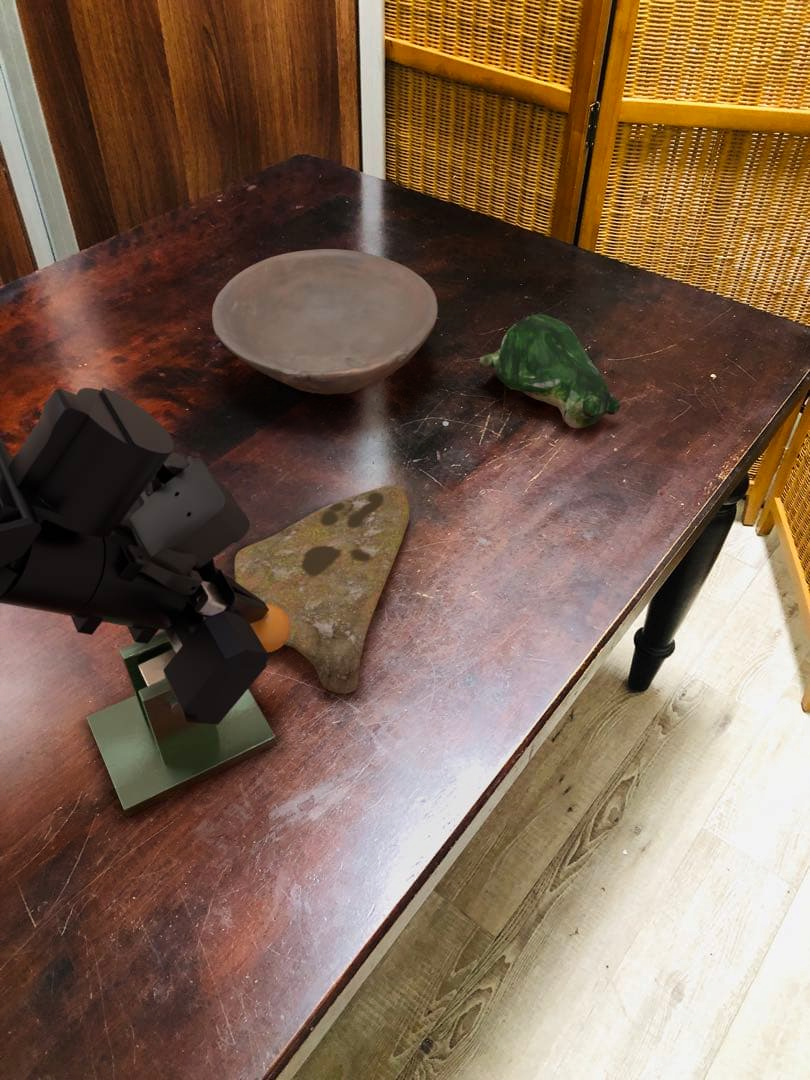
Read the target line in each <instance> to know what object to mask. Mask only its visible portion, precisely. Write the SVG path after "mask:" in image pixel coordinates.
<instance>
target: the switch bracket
mask: <svg viewBox="0 0 810 1080" xmlns="http://www.w3.org/2000/svg"><path fill="white" fill-rule="evenodd" d="M171 649H173V646H172V644H171V642H170V641H169V639H168V637H167V635H166V633H165V631H164V630H162V631H160V632H157V633H156V634H155V635H154V637H153V638H152V639H151V640H150V642H149V643H148V644H144V643H138V642H134V643H132V644H128V645H127V646H124V647H122V648H120V649H118V650H119V653H120V657H121V659H122V662H123V665H124V668H125V670H126V673H127V676H128V680H129V683H130V684H131V688H132V691H133V693H134V695H132V696H130V697H128V698H126V699H123V700H121V701H119V702H117V703H114V704H111V705H109V706H106V707H105V708H102V709H100V710H98V711H96V712H93V713H91V714H89V715H87V716H85V717H86V721H87V723H88V725H89V728H90V730H91V732H92V735H93V738H94V740H95V743H96V746H97V748H98V751H99V753H100V755H101V757H102V760H103V761H104V762H103V763H104V764H105V767H106V770H107V772H108V775H109V777H110V779H111V782H112V784H113V787H114V789H115V792H116V794H117V796H118V799H119V801H120V803H121V806H122V810H123V811H124V813H125V816H126V818H129V817H131V816H133V815H135V814H137V813H139V812H141V811H143V810H146V809H148V808H149V807H151V806H154V805H156V804H158V803H160V802H162V801H164V800H166V799H168V798H171V797H172V796H174V795H177V794H178V793H180V792H183V791H184V790H187V789H189V788H190V787H192V786H195V785H196V784H199V783H201V782H203V781H205V780H207V779H209V778H211V777H213V776H215V775H217V774H219V773H221V772H223V771H226V770H227V769H229V768H232V767H234V766H236V765H238V764H239V763H242V762H244V761H246V760H248V759H250V758H253V757H254V756H257V755H258V754H260V753H262V752H264V751H266V750H268V749H270V748H272V747H274V746H277V738H276V735H275V733H274V731H273V729H272V728H271V726H270V724H269V722H268V721H267V719H266V717H265V715H264V713H263V711H262V710H261V707H260V706H259V705H258V703H257V701H256V699H255V698H254V696H253V694H252V692H251V690H250V688H248V689H247V691H246V692H245V693H244V694H243V695H242V697H241V698H240V699H239V700H238V701H237V703H236V704H235V705H234V706H233V707H232V709H231V710H230V711H229V712H228V713H227V715H226V716H225V717H224V718H223V720H222V721H221V722H220V723H219V724H218V725H216V724H203V723H192V722H186V720H185V718H184V716H183V714H182V712H181V710H180V708H179V706H178V704H177V702H176V700H175V698H174V696H173V694H172V692H171V689H170V687H169V685H168V683H167V681H166V679H164V680H162V681H159V682H157V683H155V684H152V685H150V686H148V687H147V685H146V683H145V680H144V678H143V676H142V674H141V672H140V669H139V667H138V665H139V664H141V663H143V662H146V661H148V660H150V659H152V658H154V657H156V656H158V655H161V654H163V653H165V652H167V651H169V650H171Z"/></svg>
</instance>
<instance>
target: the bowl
mask: <svg viewBox="0 0 810 1080" xmlns="http://www.w3.org/2000/svg"><path fill="white" fill-rule="evenodd" d="M438 313H439V304H438V300H437V296H436V294H435V291H434V290H433V288H432V287H431V286H430V285H429V283H428V282H427V281H426V280H425V279H424V278H423V277H421V276H420V275H418V274H417V273H416V272H415V271H413V270H412V269H410V268H408V267H407V266H405V265H403V264H400V263H399V262H396V261H393V260H391V259H389V258H386V257H383V256H379V255H375V254H372V253H368V252H362V251H356V250H348V249H338V248H323V249H322V248H320V249H307V250H300V251H299V250H298V251H292V252H286V253H283V254H279V255H275V256H271V257H268V258H266V259H263V260H261V261H259V262H255V263H254V264H252V265H250V266H248V267H247V268H245V269H243V270H242V271H240V272H239V273H237V274H236V275H235V276H234V277H232V278H231V279H230V280H229V281H228V282H227V284H225V286H224V287H223V288H221V290H220V291H219V293H218V294H217V295H216V297H215V300H214V303H213V305H212V310H211V320H212V321H211V322H212V327H213V330H214V331H213V332H214V333H215V335H216V337H217V338H218V339H219V341H220V342H221V343H222V344H223V345H224V346H225V347H226V348H227V349H228V350H229V351H230V352H231V353H232V354H233V355H234V356H236V358H238V359H239V360H241V361H243V362H244V363H246V364H247V365H248V366H250V367H251V368H253V369H255V370H257V371H258V372H260V373H262V374H264V375H267V376H268V377H270V378H272V379H274V380H276V381H279V382H280V383H281V384H282V383H283V384H285V385H287V386H289V387H292V388H293V389H295V390H298V391H301V392H307V393H308V392H309V393H311V394H319V395H337V394H347V395H348V394H350V393H353V392H358V391H360V390H362V389H366V388H370V387H373V386H376V385H378V384H380V383H381V382H382V381H384V380H385V379H386V378H388V377H389V376H390V375H392V374H393V373H394V372H395V371H397V370H399V369H400V368H402V367H403V366H404V365H405V364H407V363H408V362H409V361H410V360H411V359H412V358H413V357H414V356H415V355H416V353H417V352H418V351H420V349H421V348H422V347H423V344H424V343H425V342H427V339H428V338H429V336H430V334H431V333H432V332H433V330H434V327H435V326H436V322H437V319H438V315H439V314H438Z"/></svg>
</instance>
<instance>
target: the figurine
mask: <svg viewBox="0 0 810 1080" xmlns="http://www.w3.org/2000/svg"><path fill="white" fill-rule="evenodd" d="M477 363H478V364H477V368H478V369H479V370H481V371H484V370H487V369H491V371H492V372H493V373H495V375H496V378H498V380H499V381H500V382H502V383H503V384H504V386H506V387H507V388H508V389H511V390H515V391H519V392H522V393H523V394H524V395H526V396H528V397H530V398H532V399H534V400H537V401H540V402H544V403H546V404H548V405H551V406H553V407H556V408H558V409H559V411H560V413H561V415H562V419H563V421H564V423H565V424H567V426H568V427H570V428H572V429H582V428H583V429H584V428H587V427H589V426H592V425H594V424H595V423H597V422H598V421H599V420H600V419H601V418H602V417H603V416H605V415H610V416H612V415H615V414H617V413H618V412H619V410H620V408H621V402H620V400H618V399H617V398H616V397H615V396H613V395H612V394H611V392H610V389H609V387H608V384H607V382H606V380H605V378H604V376H603V375H602V373H601V371H600V370H599V369H598V368H597V367H596V366H595V365H594V363H593V362H592V361H591V359H590V358H589V356H588V354H587V353H586V350H585V348H584V346H583V344H582V343H581V341H580V339H579V338H578V336H577V335H576V333H575V332H574V331H573V329H572V328H571V327H570V326H569V325H568V324H566V323H565V322H563V321H561V320H560V319H557V318H554V317H551V316H549V315H546V314H543V313H542V314H541V313H538V314H536V313H535V314H532V315H527V316H526V317H523V318H521V319H520V320H519V321H517V322H516V323H515V324H514V325H512V326H511V327H510V328H509V329H508V330H506V332H505V335H503V337H502V340H501V345H500V348H499V349H497V350H496V351H494V352H491V353H488V354H485V355H483V356H481V357H480V358H478V362H477Z"/></svg>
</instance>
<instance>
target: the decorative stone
mask: <svg viewBox="0 0 810 1080" xmlns="http://www.w3.org/2000/svg"><path fill="white" fill-rule="evenodd" d="M410 512H411V511H410V503H409V498H408V496H407V493H406V492H405V490H404V489H403V488H402V487H401V486H399V485H396V484H393V485H385V486H381V487H378V488H374V489H371V490H368V491H365V492H362V493H359V494H356V495H354V496H351V497H348V498H347V497H346V498H345V499H341V500H339V501H336V502H333V503H330V504H328V505H326V506H324V507H322V508H320V509H318V510H316V511H314V512H312V513H310V514H308V515H306V516H305V517H303V518H302V519H300V520H298V521H296V522H295V523H293V524H291V525H289V526H288V527H286V528H284V529H283V530H281V531H279V532H277V533H276V534H272V536H269V537H267V538H265V539H262V540H260V541H258V542H255V543H253V544H249V545H247V546H245V547H243V548H241V549H240V550H238V552H237V553H236V555H235V557H234V564H233V565H234V579H235V580H234V581H235V582H237V583H238V584H239V585H241V586H242V587H244V588H245V589H247V590H248V591H250V592H251V593H252V594H254V595H255V596H257V597H258V598H260V599H261V600H262V601H264V602H265V604H271V605H275V606H277V607H279V608H281V609H282V610H283V611H284V612H285V613H286V614H287V616H288V618H289V621H290V625H291V630H290V635H289V638H288V640H287V641H286V643H285V644H284V645H283V646H288V647H291V648H292V649H295V650H296V651H297V652H299V653H300V654H301V655H303V657H304V658H306V659H307V660H308V661H309V663H311V664H312V665H313V666H314V667H315V669H316V672H317V674H318V678H319V681H320V683H321V684H322V686H323V687H324V688H325V689H326V690H328V691H330V692H332V693H335V694H349V693H352V692H353V691H355V690H356V689H357V687H358V686H359V680H360V679H359V675H360V667H361V662H362V659H361V657H362V654H363V651H364V644H365V639H366V635H367V633H368V629H369V626H370V623H371V620H372V618H373V615H374V612H375V610H376V607H377V605H378V601H379V599H380V597H381V594H382V591H383V589H384V586H385V584H386V582H387V579H388V578H389V574H390V572H391V569H392V567H393V564H394V562H395V561H396V560H395V559H396V557H397V555H398V552H399V549H400V546H401V543H402V541H403V538H404V536H405V534H406V530H407V528H408V525H409V521H410V514H411V513H410Z"/></svg>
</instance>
